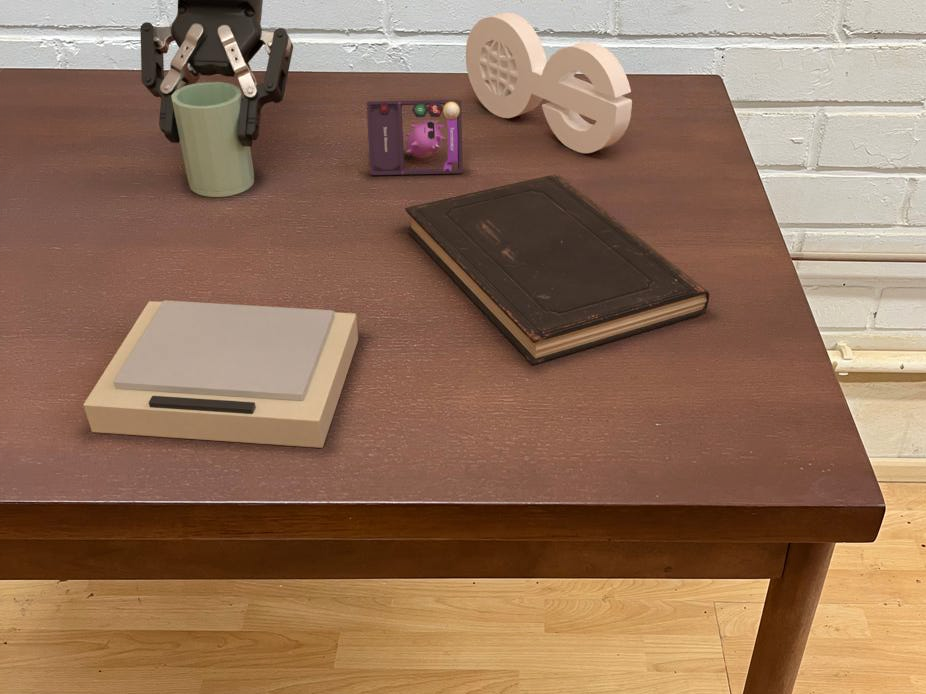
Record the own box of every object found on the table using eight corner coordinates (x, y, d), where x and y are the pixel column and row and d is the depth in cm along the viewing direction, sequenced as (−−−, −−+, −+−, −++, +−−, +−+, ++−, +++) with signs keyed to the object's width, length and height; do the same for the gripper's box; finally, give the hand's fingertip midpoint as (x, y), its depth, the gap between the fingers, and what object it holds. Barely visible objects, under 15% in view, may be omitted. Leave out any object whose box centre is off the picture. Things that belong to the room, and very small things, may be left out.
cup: (180, 195, 95) (161, 106, 89) (200, 167, 99) (183, 80, 94) (244, 199, 94) (230, 109, 89) (261, 170, 99) (249, 83, 93)
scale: (91, 432, 68) (80, 397, 66) (155, 327, 78) (147, 293, 76) (322, 448, 67) (318, 413, 65) (358, 339, 77) (355, 306, 75)
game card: (366, 101, 95) (461, 100, 95) (368, 99, 99) (458, 98, 100) (370, 175, 97) (463, 173, 98) (371, 170, 102) (460, 168, 103)
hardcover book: (532, 365, 75) (533, 339, 73) (406, 231, 90) (405, 207, 88) (707, 313, 80) (711, 288, 79) (560, 195, 95) (562, 172, 94)
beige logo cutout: (465, 101, 112) (465, 6, 105) (480, 96, 113) (481, 2, 107) (610, 167, 100) (621, 63, 93) (625, 160, 101) (637, 58, 94)
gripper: (131, -62, 90) (114, 121, 89) (290, -57, 89) (274, 128, 88) (163, -16, 97) (147, 153, 96) (309, -11, 96) (295, 160, 96)
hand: (208, 140), depth 92 cm, fingers closed on cup, 6 cm apart
